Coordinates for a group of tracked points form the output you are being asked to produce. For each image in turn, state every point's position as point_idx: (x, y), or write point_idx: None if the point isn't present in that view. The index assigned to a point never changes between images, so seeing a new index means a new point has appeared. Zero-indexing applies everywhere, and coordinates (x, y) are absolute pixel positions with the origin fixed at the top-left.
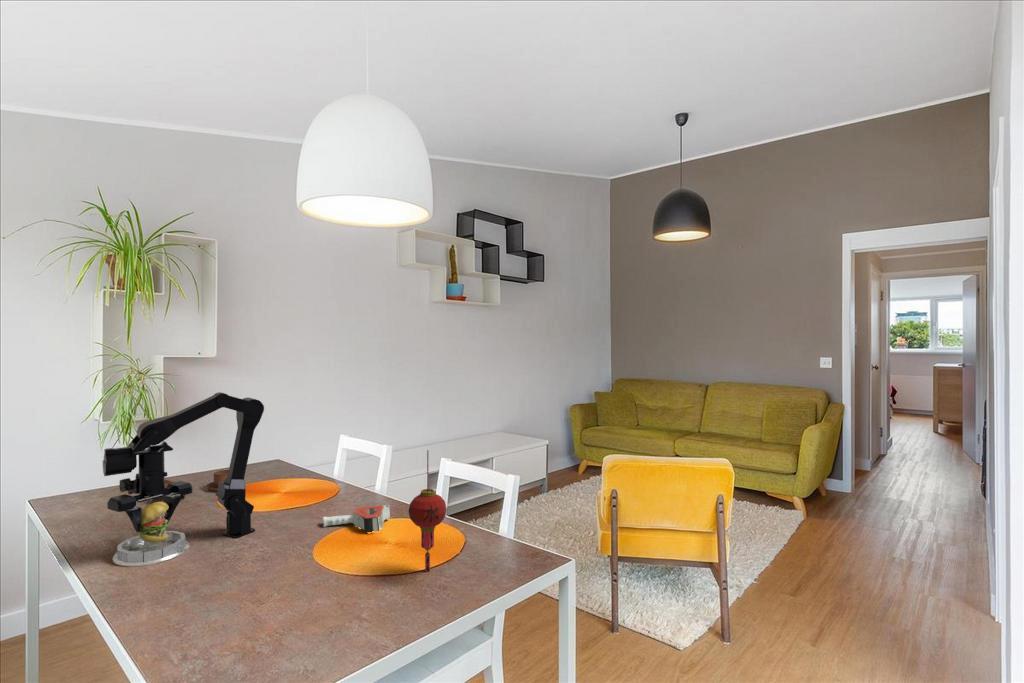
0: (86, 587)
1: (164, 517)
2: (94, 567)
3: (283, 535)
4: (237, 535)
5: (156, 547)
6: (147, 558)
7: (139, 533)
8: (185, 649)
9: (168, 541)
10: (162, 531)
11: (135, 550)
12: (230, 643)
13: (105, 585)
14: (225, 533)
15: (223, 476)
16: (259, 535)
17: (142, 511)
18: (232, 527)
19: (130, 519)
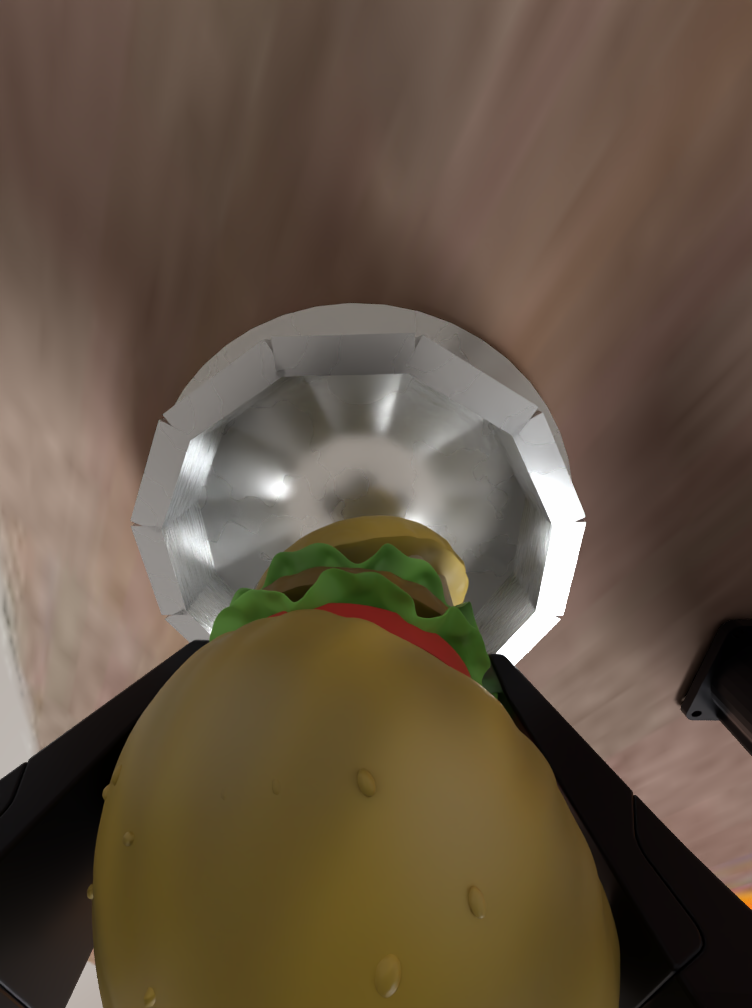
0: (13, 638)
1: (506, 710)
2: (65, 446)
3: (744, 811)
4: (701, 710)
5: (405, 511)
6: None
7: (256, 587)
8: None
9: (512, 481)
10: (462, 572)
11: (306, 441)
12: None
13: (78, 676)
14: (721, 651)
15: None
16: (733, 751)
17: (101, 994)
18: (748, 728)
19: (10, 777)
